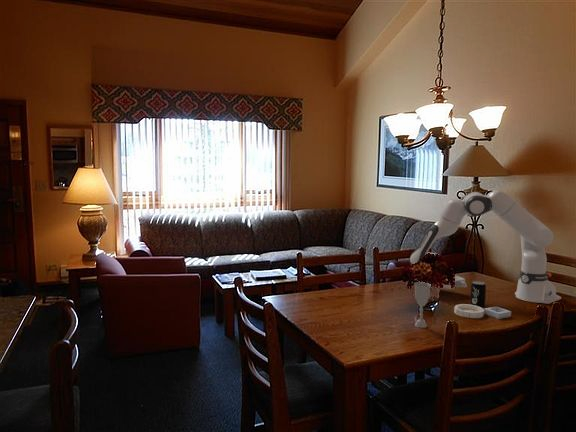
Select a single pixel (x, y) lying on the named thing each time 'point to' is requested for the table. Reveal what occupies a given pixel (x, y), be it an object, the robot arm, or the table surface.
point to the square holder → (497, 312)
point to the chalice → (422, 300)
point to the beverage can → (478, 294)
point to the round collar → (469, 311)
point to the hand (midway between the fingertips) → (458, 286)
